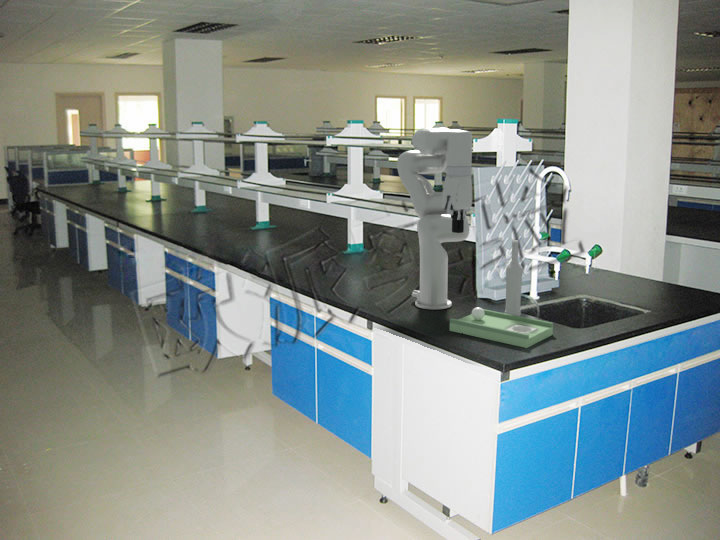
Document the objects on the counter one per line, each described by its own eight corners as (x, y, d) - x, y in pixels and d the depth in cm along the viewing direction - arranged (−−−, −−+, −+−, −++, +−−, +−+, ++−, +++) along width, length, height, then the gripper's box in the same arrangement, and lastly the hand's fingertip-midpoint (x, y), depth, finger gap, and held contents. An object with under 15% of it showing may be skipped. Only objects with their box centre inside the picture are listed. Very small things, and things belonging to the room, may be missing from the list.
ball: (468, 320, 213) (469, 307, 212) (475, 317, 216) (476, 305, 215) (480, 322, 211) (480, 309, 210) (486, 319, 213) (487, 307, 213)
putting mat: (449, 330, 211) (449, 318, 210) (477, 319, 223) (477, 308, 222) (526, 348, 194) (527, 335, 194) (552, 334, 206) (553, 322, 205)
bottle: (518, 314, 228) (521, 239, 223) (522, 318, 223) (525, 242, 218) (502, 314, 228) (505, 239, 223) (506, 318, 223) (509, 242, 218)
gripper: (462, 170, 217) (460, 228, 221) (434, 173, 206) (433, 234, 210) (482, 171, 212) (481, 230, 216) (455, 174, 201) (454, 236, 205)
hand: (457, 232), depth 213 cm, fingers closed
